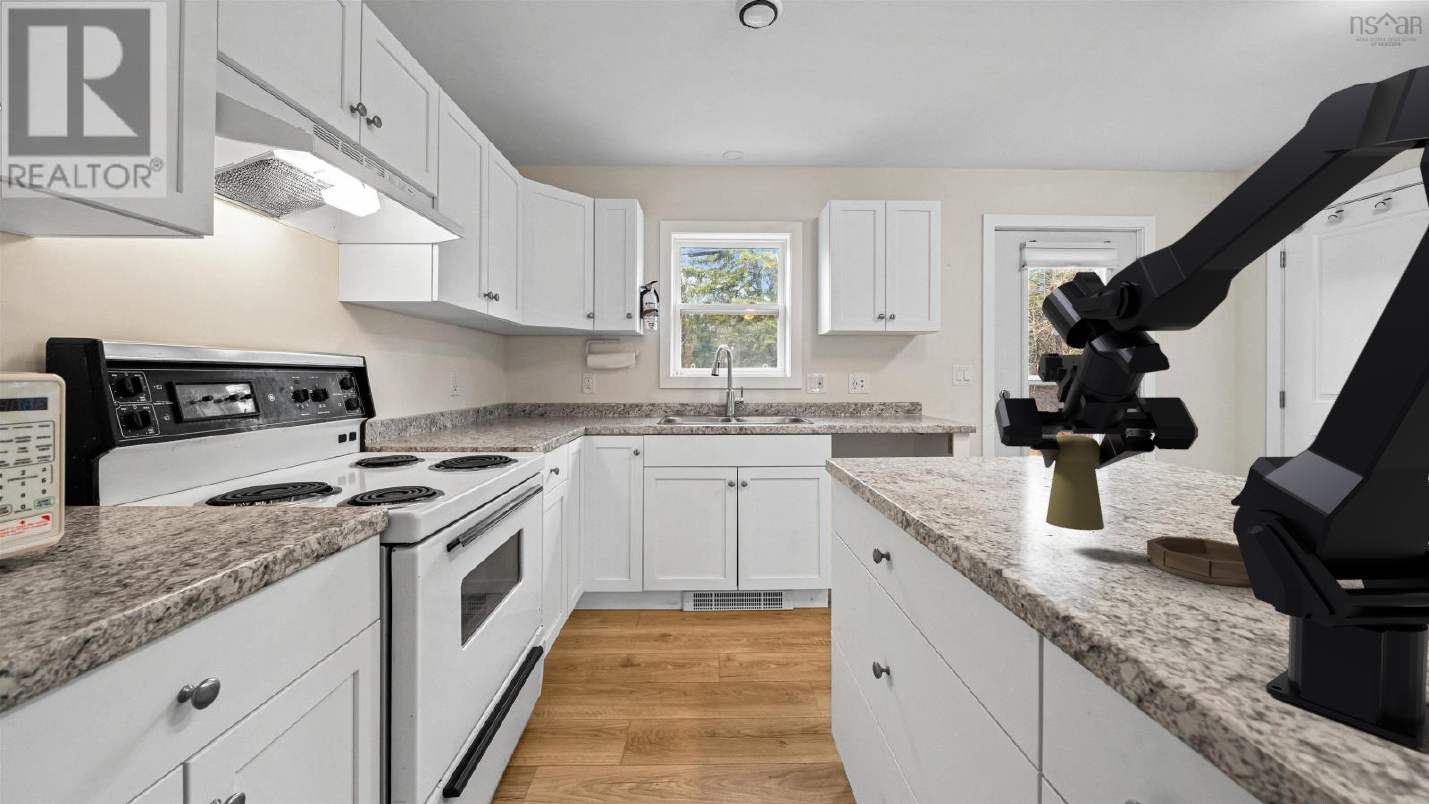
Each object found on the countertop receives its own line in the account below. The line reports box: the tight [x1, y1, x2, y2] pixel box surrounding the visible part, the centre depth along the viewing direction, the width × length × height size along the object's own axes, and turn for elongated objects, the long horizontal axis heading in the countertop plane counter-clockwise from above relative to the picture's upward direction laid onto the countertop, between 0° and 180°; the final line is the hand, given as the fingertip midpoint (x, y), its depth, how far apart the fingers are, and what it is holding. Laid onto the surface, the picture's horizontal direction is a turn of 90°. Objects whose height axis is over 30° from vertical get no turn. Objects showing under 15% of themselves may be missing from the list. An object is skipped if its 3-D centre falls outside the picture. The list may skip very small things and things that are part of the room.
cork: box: [1045, 434, 1105, 531], centre depth 66 cm, size 6×6×11 cm
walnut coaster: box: [1146, 535, 1252, 588], centre depth 59 cm, size 10×10×2 cm
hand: (1070, 465), depth 67 cm, fingers closed on cork, 5 cm apart
